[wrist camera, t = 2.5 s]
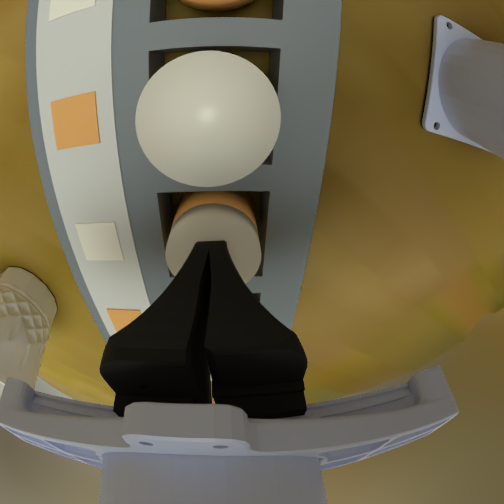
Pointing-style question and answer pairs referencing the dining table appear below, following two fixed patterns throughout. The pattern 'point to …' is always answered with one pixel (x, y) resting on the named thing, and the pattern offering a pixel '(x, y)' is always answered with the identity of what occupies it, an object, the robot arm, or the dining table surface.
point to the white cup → (23, 324)
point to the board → (138, 165)
